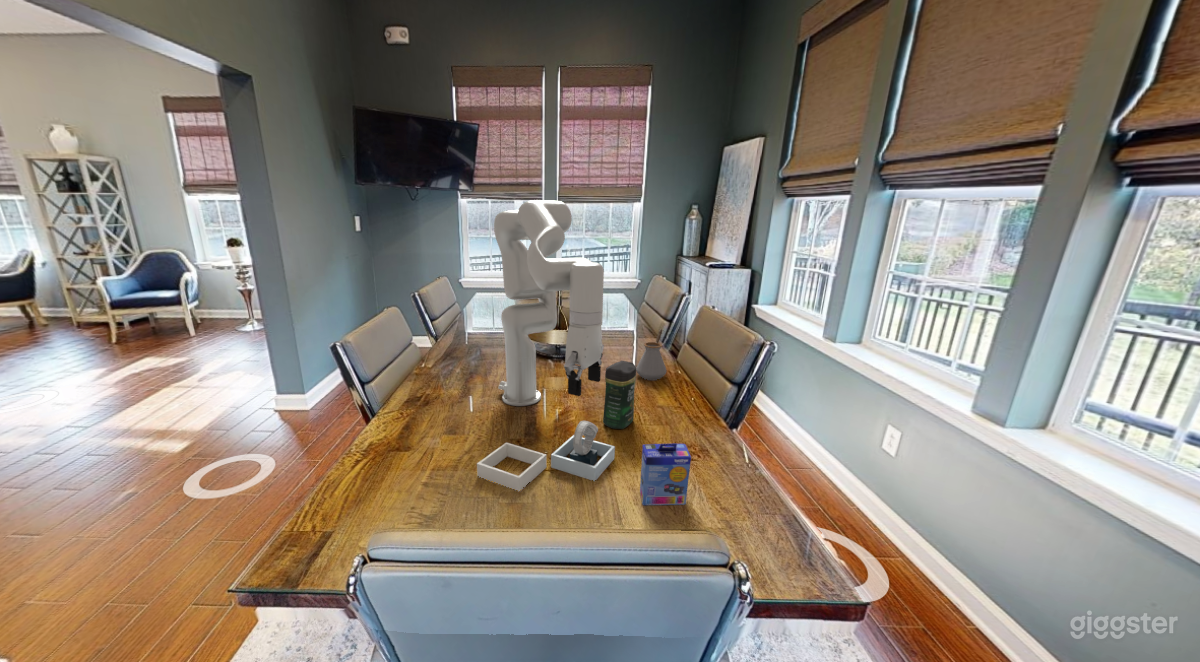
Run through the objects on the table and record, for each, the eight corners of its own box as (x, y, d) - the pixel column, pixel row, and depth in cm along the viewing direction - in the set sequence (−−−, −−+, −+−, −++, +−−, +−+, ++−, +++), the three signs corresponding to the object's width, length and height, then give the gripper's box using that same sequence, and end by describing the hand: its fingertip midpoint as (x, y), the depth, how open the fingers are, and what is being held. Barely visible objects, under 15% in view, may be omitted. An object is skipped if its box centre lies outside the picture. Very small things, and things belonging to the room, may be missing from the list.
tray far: (551, 467, 109) (551, 454, 108) (573, 446, 118) (573, 435, 117) (594, 481, 104) (595, 468, 103) (614, 458, 113) (614, 446, 112)
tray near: (477, 476, 104) (476, 463, 103) (506, 454, 114) (506, 442, 113) (519, 491, 99) (519, 478, 98) (546, 467, 109) (546, 454, 108)
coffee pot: (662, 384, 162) (665, 345, 158) (632, 379, 165) (633, 341, 161) (673, 365, 181) (676, 330, 177) (646, 362, 185) (648, 327, 181)
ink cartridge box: (642, 507, 95) (646, 447, 91) (638, 491, 100) (641, 433, 97) (687, 505, 96) (693, 446, 92) (681, 490, 101) (686, 432, 97)
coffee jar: (623, 432, 126) (626, 371, 121) (599, 425, 130) (600, 366, 125) (637, 419, 134) (640, 361, 129) (614, 413, 138) (616, 356, 133)
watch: (600, 457, 113) (601, 418, 111) (586, 474, 106) (587, 432, 103) (580, 452, 116) (580, 414, 113) (565, 468, 108) (566, 427, 105)
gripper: (589, 308, 110) (587, 373, 115) (551, 323, 95) (551, 397, 100) (616, 312, 107) (614, 378, 111) (582, 328, 92) (581, 404, 96)
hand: (584, 387), depth 105 cm, fingers open, 9 cm apart
